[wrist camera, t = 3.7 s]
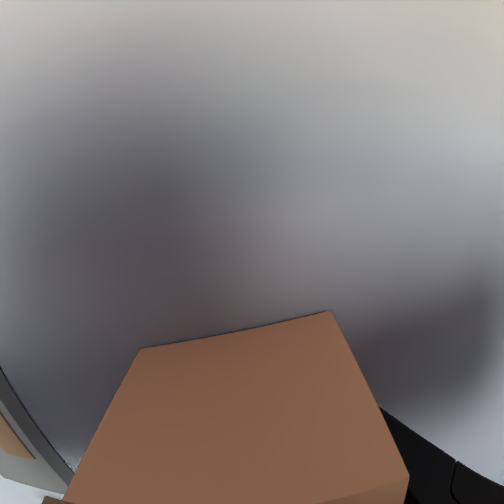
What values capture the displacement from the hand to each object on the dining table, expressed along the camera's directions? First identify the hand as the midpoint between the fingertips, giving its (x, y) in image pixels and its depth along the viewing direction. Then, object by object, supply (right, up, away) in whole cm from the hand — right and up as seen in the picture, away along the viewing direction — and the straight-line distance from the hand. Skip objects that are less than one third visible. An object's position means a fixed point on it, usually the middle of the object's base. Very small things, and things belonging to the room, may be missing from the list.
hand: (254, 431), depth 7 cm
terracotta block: (0, 0, +1) cm, 1 cm away
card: (-12, -3, +2) cm, 12 cm away
